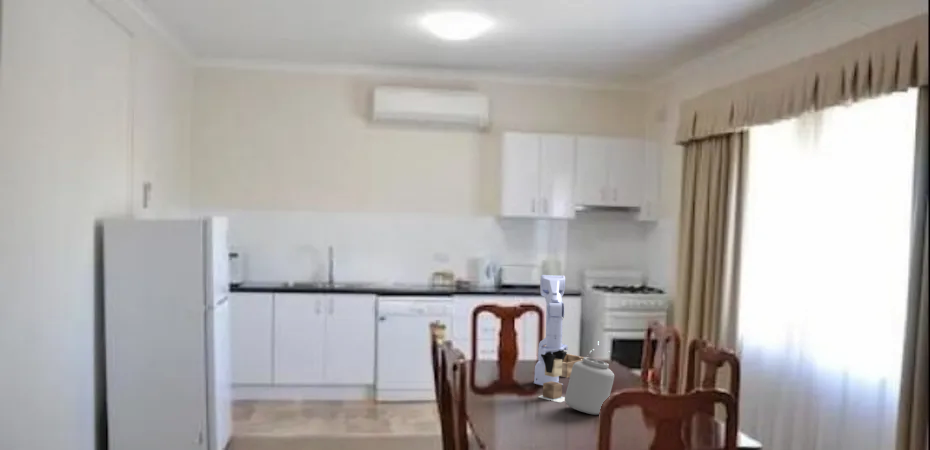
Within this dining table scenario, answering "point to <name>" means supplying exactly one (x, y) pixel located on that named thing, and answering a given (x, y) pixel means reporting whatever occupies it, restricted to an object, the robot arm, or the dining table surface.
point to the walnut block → (552, 390)
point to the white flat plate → (554, 399)
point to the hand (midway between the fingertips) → (553, 371)
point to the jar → (589, 385)
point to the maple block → (555, 368)
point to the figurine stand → (569, 364)
